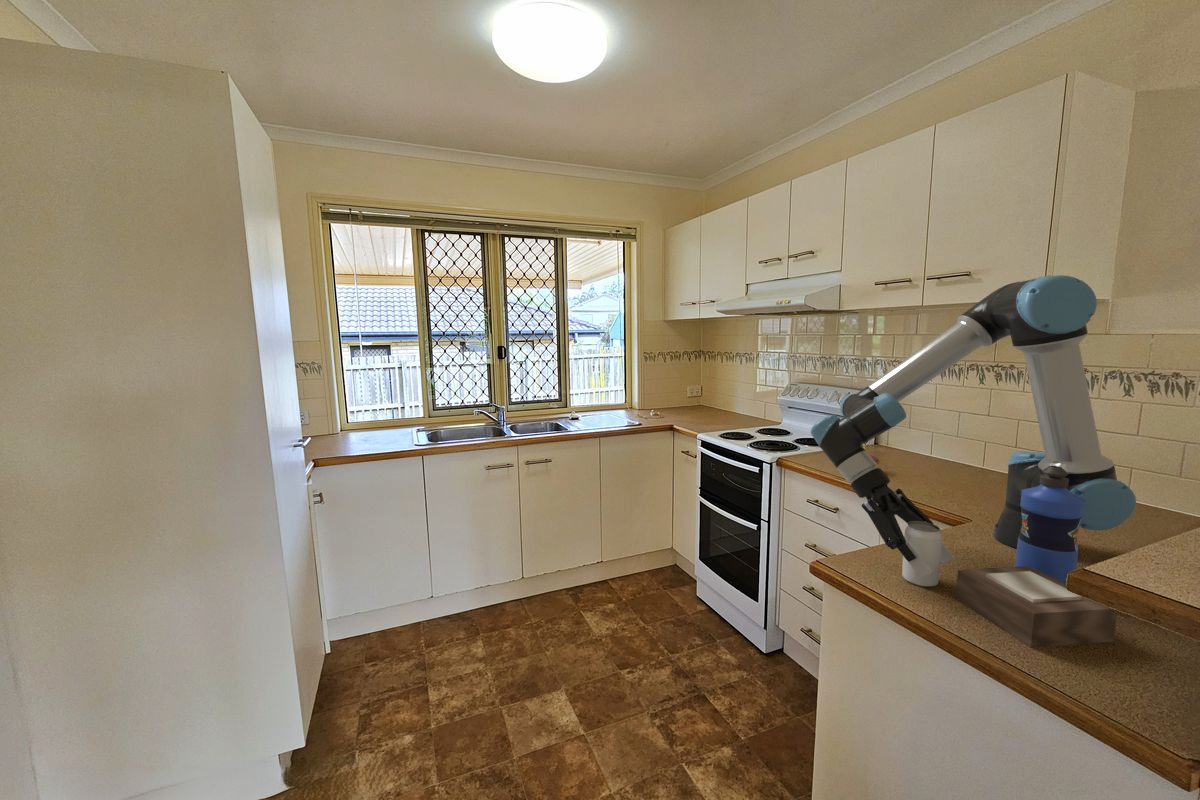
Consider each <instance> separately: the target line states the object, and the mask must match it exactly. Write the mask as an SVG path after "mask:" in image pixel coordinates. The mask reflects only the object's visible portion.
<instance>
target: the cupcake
mask: <svg viewBox="0 0 1200 800" xmlns="http://www.w3.org/2000/svg"><path fill="white" fill-rule="evenodd" d="M862 447H863V448H864V449H865V450H866V443H865V444H863V445H862ZM866 451H867V450H866ZM869 455H870V456H871V457H872V459H873V460H874V461H875V462H876V463H877V466H879V464H880V460H879V458H878V457H876V456H875V455H873V454H869Z"/></svg>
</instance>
